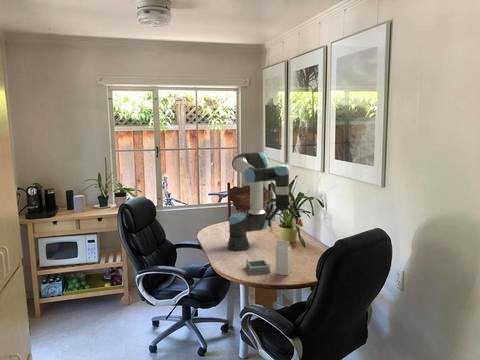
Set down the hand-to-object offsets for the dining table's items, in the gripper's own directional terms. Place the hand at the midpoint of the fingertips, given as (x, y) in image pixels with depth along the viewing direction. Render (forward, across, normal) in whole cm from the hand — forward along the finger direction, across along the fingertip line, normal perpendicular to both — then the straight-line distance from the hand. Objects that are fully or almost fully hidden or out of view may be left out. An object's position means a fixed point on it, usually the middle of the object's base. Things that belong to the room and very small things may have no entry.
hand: (283, 231), depth 214 cm
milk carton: (+25, 0, 0) cm, 25 cm away
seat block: (+24, -13, +8) cm, 29 cm away
